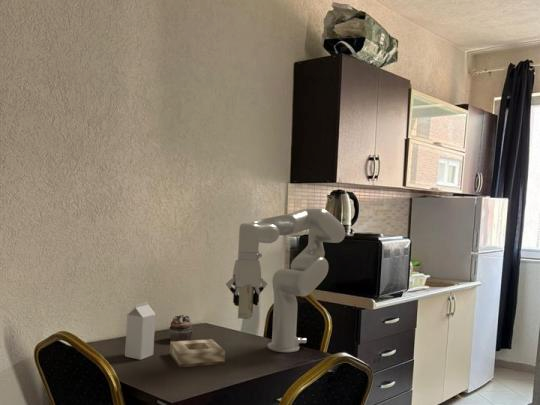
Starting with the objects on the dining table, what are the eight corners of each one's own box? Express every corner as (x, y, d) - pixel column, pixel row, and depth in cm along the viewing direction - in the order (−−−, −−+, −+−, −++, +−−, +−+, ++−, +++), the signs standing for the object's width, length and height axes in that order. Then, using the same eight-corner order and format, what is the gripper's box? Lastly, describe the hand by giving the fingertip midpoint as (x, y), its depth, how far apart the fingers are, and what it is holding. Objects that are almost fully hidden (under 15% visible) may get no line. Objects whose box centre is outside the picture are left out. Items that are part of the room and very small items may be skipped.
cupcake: (163, 340, 197) (164, 316, 197) (179, 336, 205) (181, 312, 205) (181, 345, 192) (182, 319, 192) (197, 340, 200) (198, 315, 200)
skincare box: (248, 319, 176) (250, 286, 176) (237, 318, 176) (239, 285, 177) (252, 316, 182) (254, 283, 182) (241, 315, 183) (243, 282, 183)
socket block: (211, 351, 185) (212, 339, 185) (224, 363, 171) (225, 350, 171) (169, 354, 179) (170, 341, 179) (179, 367, 164) (180, 354, 164)
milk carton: (153, 355, 176) (156, 303, 177) (140, 360, 170) (143, 305, 170) (137, 352, 179) (140, 300, 180) (124, 356, 173) (127, 303, 173)
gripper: (265, 255, 186) (263, 302, 186) (222, 255, 180) (220, 303, 179) (273, 257, 180) (271, 306, 179) (229, 257, 173) (226, 307, 172)
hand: (245, 304), depth 179 cm, fingers closed on skincare box, 6 cm apart
